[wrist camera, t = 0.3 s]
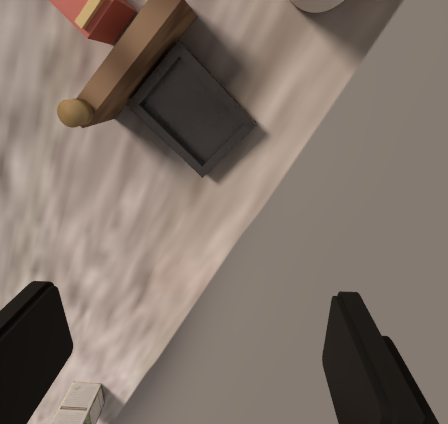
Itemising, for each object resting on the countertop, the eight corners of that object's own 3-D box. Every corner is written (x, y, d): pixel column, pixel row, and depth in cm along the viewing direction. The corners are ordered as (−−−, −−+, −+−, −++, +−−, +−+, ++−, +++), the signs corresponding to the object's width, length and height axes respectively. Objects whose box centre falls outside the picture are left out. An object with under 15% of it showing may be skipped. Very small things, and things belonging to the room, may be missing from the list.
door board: (181, -1, 32) (156, -34, 23) (198, 17, 33) (179, -7, 23) (100, 105, 37) (52, 113, 28) (115, 119, 37) (73, 132, 28)
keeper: (182, 42, 34) (178, 40, 32) (255, 122, 36) (256, 125, 35) (132, 103, 37) (126, 104, 35) (204, 173, 39) (202, 177, 38)
